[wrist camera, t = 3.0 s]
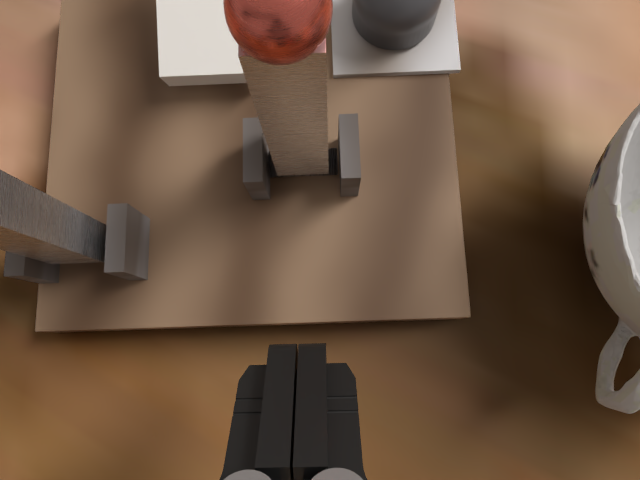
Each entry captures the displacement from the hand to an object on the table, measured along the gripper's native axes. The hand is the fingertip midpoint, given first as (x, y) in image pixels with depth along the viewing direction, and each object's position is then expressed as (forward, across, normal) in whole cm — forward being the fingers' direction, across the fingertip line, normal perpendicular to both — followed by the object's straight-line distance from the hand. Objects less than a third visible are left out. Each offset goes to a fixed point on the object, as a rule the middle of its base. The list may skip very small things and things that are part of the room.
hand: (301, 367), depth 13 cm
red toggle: (+11, 0, +1) cm, 11 cm away
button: (+17, +4, +6) cm, 18 cm away
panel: (+14, -3, 0) cm, 15 cm away
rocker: (+16, -4, +7) cm, 18 cm away
